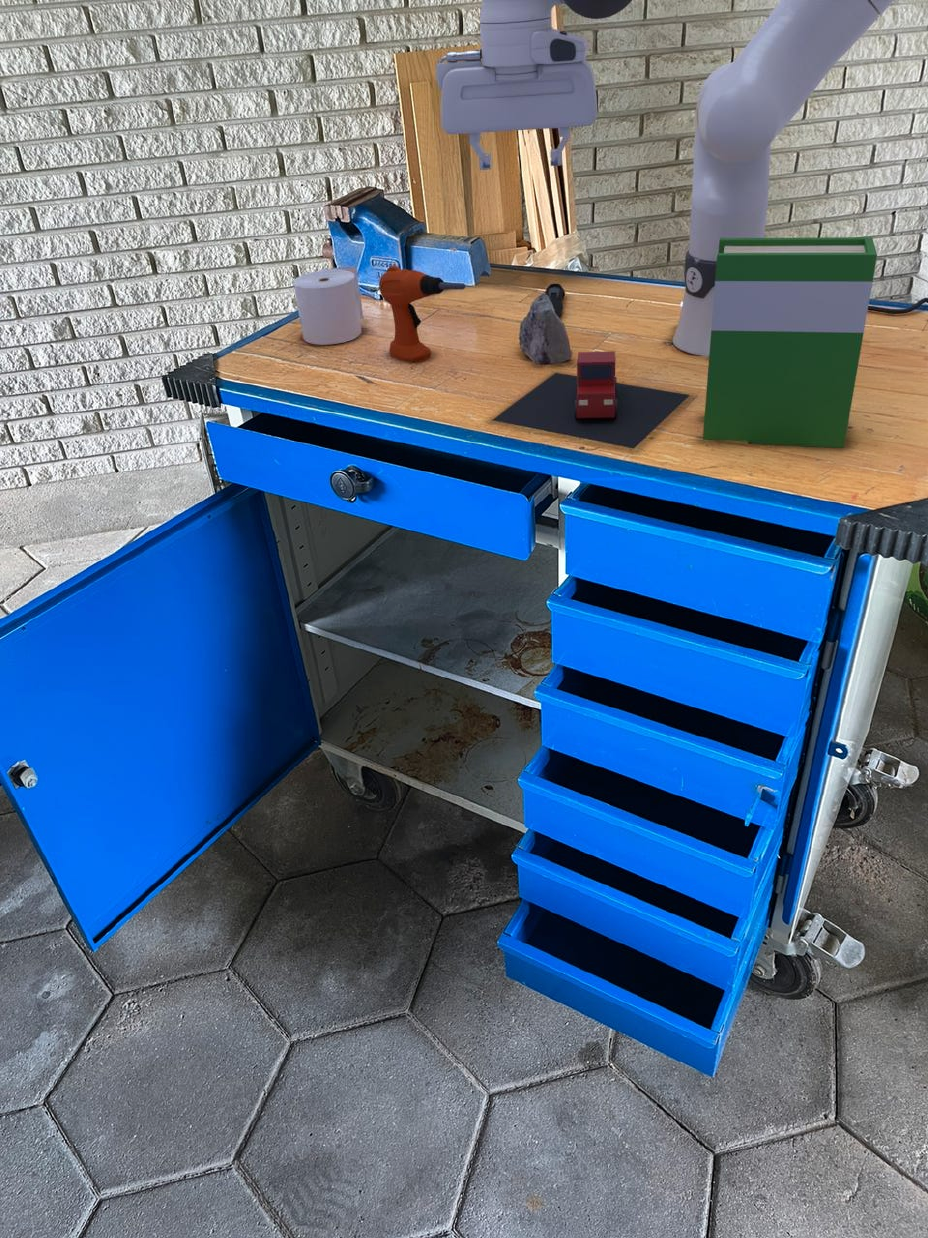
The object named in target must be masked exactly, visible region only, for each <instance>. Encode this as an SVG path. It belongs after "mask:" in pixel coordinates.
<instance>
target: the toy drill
mask: <svg viewBox="0 0 928 1238" xmlns="http://www.w3.org/2000/svg"><path fill="white" fill-rule="evenodd" d="M465 288H466V284H465V283H463V282H448V281H444V280H443V279H442V278H441V277H437V276H435V277H434V276H431V275H430V274H426V273H424V272H422V271H419V270H416V269H412V270H409V269H407V268H403V269H401V268H400V267H399V266H398V265H391V266H389V267H388V268H387V269H386V272H384V273H383V274H382V275H381V277H380V278H379V281H378V289H379V291H380V294H381V297H382V299H383V300H384V301H385V302H387V304H389V305H390V307H391V310H392V315H393V321H394V337H393V338H394V339H393V340H392V341H390V343H389V354H390V356H391V357H392V358H394V359H397V360H400V361H402V362H403V361H404V362H408V363H420V362H424V361H427V360H428V359H430V358H431V356H432V350H431V349H430V348H429V347H427V346H426V345H425V344H424V342H421V341H420V337H419V333H418V327H419V326H420V324H421V322H422V320H421V319H420V317H419V315H418V314H417V312H416V308H415V307H414V306H413V305H412V304H411V303H413V302H415V301H418V300H422V299H424V298H427V297H429V296H432V295H440V294H441V293H443V291H444V290H445V291H447V290H461V291H462V290H465Z"/></svg>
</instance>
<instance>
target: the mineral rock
mask: <svg viewBox="0 0 928 1238" xmlns="http://www.w3.org/2000/svg"><path fill="white" fill-rule="evenodd" d="M518 339H519V345H520V349H521V352H522V353H523V354H524V355H526V356H527V357H529V359H530V360H531V361H532V362H533V363H535V364H538V365H539V366H542V365H547V364H550V365H557V364H562V363H564V362H566V361H569V360H570V359H571V358H572V356H573V350H572V348H571V343H570V339H569V335H568V332H567V329H566V325H565V323H564V322H563V321H562V320H561V319H560V316H559V317H558V316H557V315H556V313H555V311H554V308H553V305H552V303H551V301H550V299H549V297H548V296H547V295H546V294H545V292H542V293H541V294H540V295H538V296H537V297H535V299H534V300H533V301H532V303H531V304H530V306H529V311H528V312H527V313H526V316H524V318H523V319H522V321H521V322H520V325H519V334H518Z"/></svg>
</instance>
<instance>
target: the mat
mask: <svg viewBox="0 0 928 1238" xmlns="http://www.w3.org/2000/svg"><path fill="white" fill-rule="evenodd" d="M576 378H578V376H577V375H571V374H565V373H560V372H555V373H553V374H552V375H550V376H549V377H548V378H547V379H545V380H544V381H543V382H541V383H540V384H538V385H537V386H535V388H533V389H531V390H530V391H529V392H528V393H527V394H525V395H523V396H522V397H521V398H520V399H518V400H517V401H516V402H514V403H513V404H511V405H510V406H509V407H507V408H506V409H504V411H502V412H500V413H499V414H498V415H496V416H495V417H493V418H492V421H494V422H498V423H503V424H509V425H513V426H519V427H523V428H529V429H532V430H539V431H544V432H548V433H553V434H558V435H564V436H567V437H568V436H569V437H574V438H579V439H584V440H589V441H593V442H599V443H604V444H608V445H613V446H618V447H623V448H628V449H633V450H634V449H635V448H636V447H638V446H639V445H640V444H641V443H642V441H644V440H645V439H646V438H647V437H648V436H649V435H650V434H651V433H652V432H653V431H654V430H655V429H656V428H658V426H659V425H660V424H661V423H662V422H663V421H665V420H666V419H667V418H668V417H669V416H670V415H671V414H672V413H673V412H674V411H675V410H676V409H678V407H679V406H680V405H681V404H682V403H683V402H685V401H686V399H688V398H689V397H690V394H686V393H681V392H675V391H669V390H662V389H656V388H650V387H644V386H638V385H632V384H625V383H621V382H620V383H619V382H617V387H616V395H615V399H617V418H583V419H575V400H577V396H576Z"/></svg>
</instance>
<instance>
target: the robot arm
mask: <svg viewBox="0 0 928 1238" xmlns="http://www.w3.org/2000/svg"><path fill="white" fill-rule="evenodd" d="M894 1H895V0H780V1H779V2H778V3H777V4H776V6H775V7H774V8H773V10H772V11H771V13H770V14H769V15H768V17H767V18H766V19H765V21H764V22H763V24H762V25H761V26H760V28H759V29H758V30H757V31H756V33H755V34H754V35H753V37H752V38H751V40H750V41H749V42H748V43H747V45H746V46H745V47H744V48H743V50H742V51H741V52H740V53H739V55H738V56H737V57H736V59H735V60H734V61H732V62H728V63H725V64H723V65H722V66H720V67H718V68H717V69H715V70H714V71H713V72H712V73H711V74H710V75H709V76H708V77H707V78H706V79H705V81H704V82H703V84H702V86H701V88H700V90H699V93H698V96H697V100H696V109H695V123H694V124H695V125H694V126H695V127H694V146H693V147H694V148H693V164H692V165H693V167H692V187H691V207H690V208H691V209H690V223H689V224H690V225H689V238H688V239H689V241H688V250H687V251H686V253H685V260H684V271H683V272H684V273H683V277H684V293H683V298H682V301H681V302H680V307H681V309H680V313H679V318H678V323H677V326H676V330H675V332H674V336H673V338H672V343H673V345H674V347H676V348H677V349H678V350H680V351H683V352H685V353H688V354H691V355H696V356H702V357H709V353H710V340H711V328H712V315H713V302H714V290H715V277H716V264H717V253H719V241H720V238H765V233H766V232H765V231H766V224H767V223H766V222H767V215H768V214H767V213H768V204H769V196H770V195H769V189H770V187H769V186H770V185H769V184H770V163H771V147H772V146H771V145H772V143H773V141H775V139H776V138H777V137H778V136H779V134H780V133H782V130H783V129H784V128H785V127H786V126H787V125H788V123H789V122H791V120H792V119H793V117H794V116H795V115H796V114H797V113H798V112H799V110H800V109H801V108H802V106H803V105H804V104H805V103H806V101H807V100H808V99H809V97H810V96H811V95H812V94H813V92H814V91H815V90H816V88H817V87H818V86H819V84H820V83H821V82H822V81H823V79H824V78H825V77H826V76H827V74H828V73H829V72H830V71H831V70H832V69H833V67H834V66H835V65H836V64H837V63H838V62H839V61H840V60H841V59H842V58H843V56H844V55H845V54H846V53H847V52H848V51H849V50H850V49H851V48H852V47H853V45H854V44H855V43H856V42H857V41H858V40H859V39H860V38H861V37H862V36H863V35H864V34H865V33H866V32H867V31H868V30H869V28H871V26H872V25H873V24H874V23H875V22H876V21H877V20H878V19H879V18H880V16H881V15H882V14H884V13H885V11H886V10H887V9H888V8H889V7H890V6H891V5H892V4H893V2H894ZM631 2H633V0H481V10H480V15H479V29H480V31H479V32H480V47H481V48H480V49H474V50H473V49H470V50H465V51H449V52H447V53H445V54H446V55H444V56H442V57H441V58H440V59H439V60H438V61H437V62H436V67H435V77H436V85H437V87H438V89H439V90H440V91H441V98H440V99H441V100H440V124H441V128H442V129H443V131H444V132H445V133H446V134H447V135H463V134H464V135H465V134H468V135H469V136H468V139H469V144H470V146H471V147H472V149H473V151H474V152H475V154H476V155H477V157H478V166H479V171H487V170H491V169H492V167H493V166H492V161H491V159H492V153H491V152H485V150H484V149H483V147H482V146H481V144H480V141H481V140H482V137H483V136H482V133H497V132H499V133H500V132H511V131H512V132H513V131H528V130H529V131H530V130H546V129H549V130H550V129H558V137H559V138H561V139H560V142H559V144H558V146H557V147H556V148H554V149H553V148H552V149H550V153H549V154H550V166H551V167H559V166H561V167H562V165H563V151H564V149H565V147H566V145H567V143H568V142H569V139H570V136H571V128H577V127H578V128H579V127H591V126H593V124H594V123H595V122H596V121H597V119H598V99H597V98H598V97H597V88H596V81H595V76H594V71H593V68H592V66H591V64H590V63H589V61H588V60H586V58H587V55H588V41H587V40H586V39H585V37H583V36H581V35H577V34H573V33H569V32H567V31H565V30H561V29H556V28H553V26H552V22H553V21H552V9H553V8H554V7H555V6H557V5H559V6H560V5H566V6H567V7H568V8H569V9H570V10H571V11H573V12H574V13H575V14H577V15H578V16H581V17H582V18H586V19H589V20H590V19H591V20H603V19H607V18H610V17H612V16H614V15H617V14H618V13H620V12H621V11H623V10H624V9H626V8H627V7H628V5H629V4H631ZM445 61H446V62H445ZM925 303H926V304H928V297H923V298H921V299H919V301H917V302H916V303H915V304H913V305H911V306H909V307H906V308H887V307H881V306H875V305H868V311H869V312H875V313H882V314H888V315H890V314H891V315H903V314H909V313H911V312H914V311H915V310H917V309H919V308H920V307H921V306H923V304H925Z"/></svg>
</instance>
